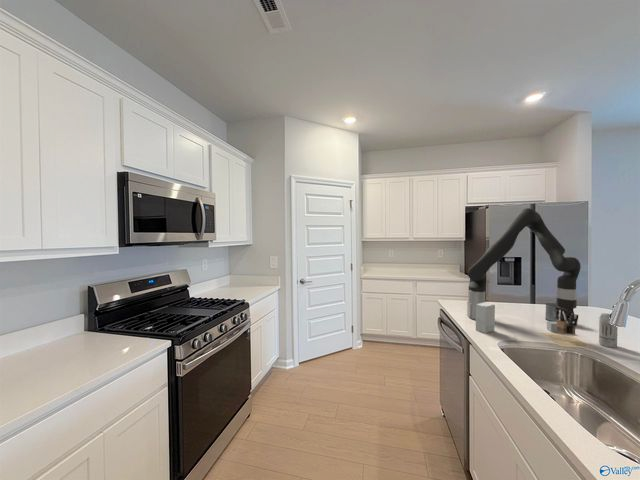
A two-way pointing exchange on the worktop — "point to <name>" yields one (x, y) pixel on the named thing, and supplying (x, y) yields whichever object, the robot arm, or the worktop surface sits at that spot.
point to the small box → (551, 312)
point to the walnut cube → (563, 327)
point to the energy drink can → (607, 332)
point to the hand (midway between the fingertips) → (565, 331)
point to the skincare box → (485, 317)
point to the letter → (566, 340)
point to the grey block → (552, 326)
